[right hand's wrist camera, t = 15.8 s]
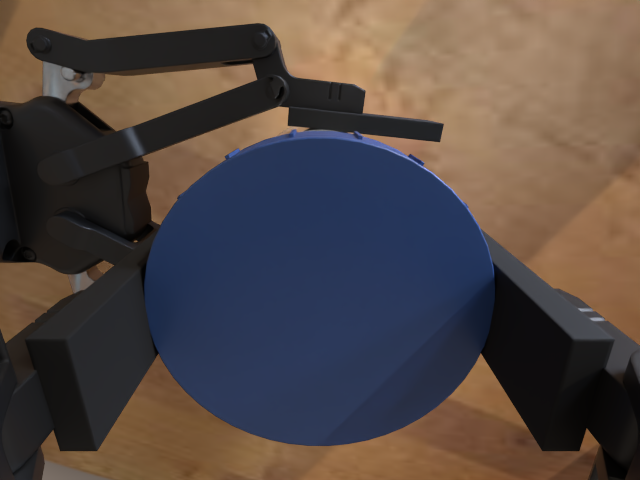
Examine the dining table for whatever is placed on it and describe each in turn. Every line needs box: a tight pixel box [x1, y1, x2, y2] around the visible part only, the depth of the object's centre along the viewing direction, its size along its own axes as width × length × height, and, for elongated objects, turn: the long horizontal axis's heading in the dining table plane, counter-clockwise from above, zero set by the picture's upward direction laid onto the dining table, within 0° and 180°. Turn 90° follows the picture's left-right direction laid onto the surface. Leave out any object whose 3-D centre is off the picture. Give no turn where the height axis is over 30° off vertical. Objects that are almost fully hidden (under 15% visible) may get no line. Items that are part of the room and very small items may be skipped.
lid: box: [144, 129, 495, 446], centre depth 11 cm, size 9×9×2 cm
